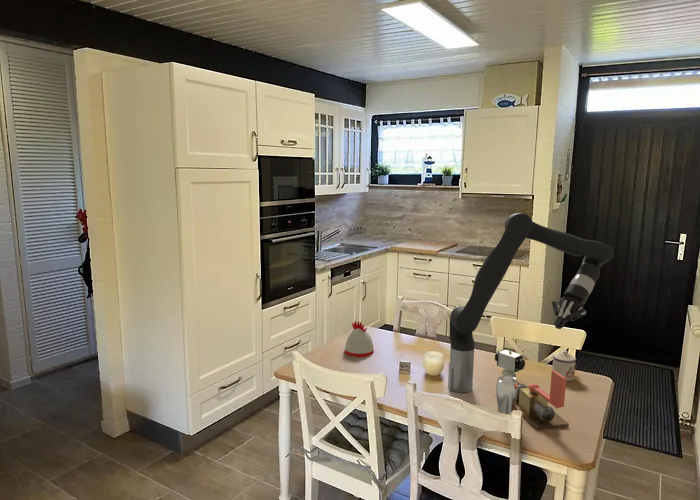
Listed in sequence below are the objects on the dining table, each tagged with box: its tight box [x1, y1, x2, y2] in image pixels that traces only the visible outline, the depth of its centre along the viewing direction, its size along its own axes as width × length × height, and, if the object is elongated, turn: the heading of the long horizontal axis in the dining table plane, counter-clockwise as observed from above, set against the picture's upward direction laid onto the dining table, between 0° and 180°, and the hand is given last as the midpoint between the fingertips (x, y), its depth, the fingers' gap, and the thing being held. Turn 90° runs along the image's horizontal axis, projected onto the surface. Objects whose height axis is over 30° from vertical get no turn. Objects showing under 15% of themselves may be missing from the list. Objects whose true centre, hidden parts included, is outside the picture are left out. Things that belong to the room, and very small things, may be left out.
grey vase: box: [495, 375, 518, 414], centre depth 168 cm, size 7×7×15 cm
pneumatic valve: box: [494, 349, 526, 379], centre depth 203 cm, size 6×12×12 cm, turn 40°
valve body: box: [514, 383, 570, 431], centre depth 174 cm, size 22×12×9 cm, turn 10°
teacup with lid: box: [551, 350, 577, 382], centre depth 205 cm, size 12×9×12 cm
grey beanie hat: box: [344, 320, 375, 358], centre depth 231 cm, size 14×14×15 cm
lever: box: [528, 370, 567, 409], centre depth 165 cm, size 18×4×11 cm, turn 12°
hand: (557, 327), depth 171 cm, fingers closed
